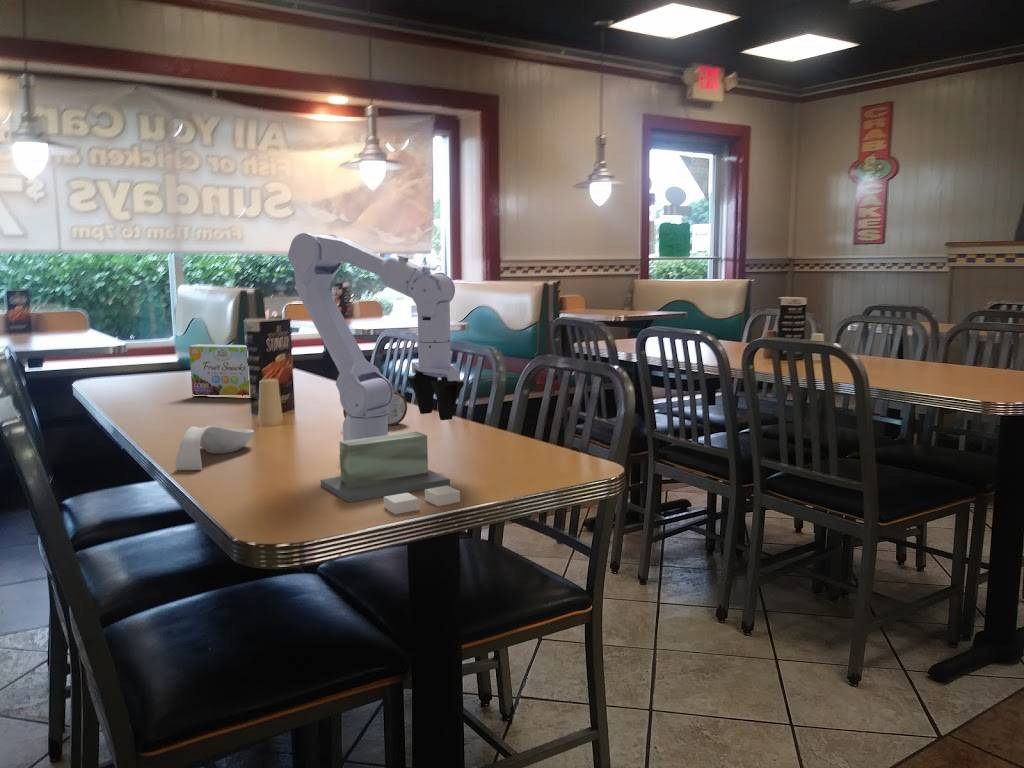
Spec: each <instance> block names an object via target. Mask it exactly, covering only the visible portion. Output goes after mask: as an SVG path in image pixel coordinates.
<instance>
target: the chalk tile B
mask: <svg viewBox="0 0 1024 768" xmlns="http://www.w3.org/2000/svg"><path fill="white" fill-rule="evenodd" d="M424 501H426V502H428V503H430V504H433V506H436V507H441V506H445V505H451V504H455V503H456V504H457V503H460V502H461V490H458V489H456V488H453V486H452V487H451V486H450V485H446V486H440V487H434V488H429V489H424Z"/></svg>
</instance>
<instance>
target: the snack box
mask: <svg viewBox="0 0 1024 768" xmlns="http://www.w3.org/2000/svg"><path fill="white" fill-rule="evenodd" d="M246 345H247V344H215V343H214V344H212V343H211V344H209V343H208V344H207V343H204V344H202V343H200V344H199V343H198V344H192V345H189V346H188V349H189V350H188V351H189V364H190V365H189V367H190V377H191V380H190V381H191V392H192V395H193V394H194V395H242V396H243V395H249V380H248V368H247V366H248V363H247V346H246Z"/></svg>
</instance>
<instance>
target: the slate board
mask: <svg viewBox="0 0 1024 768" xmlns="http://www.w3.org/2000/svg"><path fill="white" fill-rule="evenodd" d="M450 485H451V479H450V478H449V477H446V476H444V475H442V474H439V473H437V472H435V471H433V470H431V469H428V476H424V477H417V478H411V479H405V480H399V481H393V482H387V483H381V484H375V485H369V486H363V487H357V488H351V489H350V488H349V487H347V486H345V485H343V484H342V483H341V476H335V477H331V478H330V477H329V478H324V479H320V487H322V488H324V489H326V490H327V491H329V492H331V493H332V494H334V495H336V496H337V497H339V498H340V499H342V500H344V501H345V502H347V503H352V502H358V501H364V500H371V499H376V498H381V497H383V498H384V497H385V496H391V495H397V494H403V493H410V492H416V491H421V490H425V489H431V488H436V487H441V486H450Z"/></svg>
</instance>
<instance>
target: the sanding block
mask: <svg viewBox="0 0 1024 768" xmlns="http://www.w3.org/2000/svg"><path fill="white" fill-rule="evenodd" d="M339 455H340V457H339V461H340V463H339V465H340V468H339V469H340V477H341V483H342V484H343V485H345V486H347V487H349V488H350V489H351V488H357V487H363V486H369V485H375V484H381V483H387V482H393V481H399V480H405V479H411V478H417V477H424V476H428V470H429V467H428V466H429V459H428V458H429V457H428V456H429V455H428V435H427V434H424V433H421V432H419V431H410V432H402V433H394V434H388V435H386V436H378V437H370V438H362V439H355V440H347V441H343V440H341V441H339Z"/></svg>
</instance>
